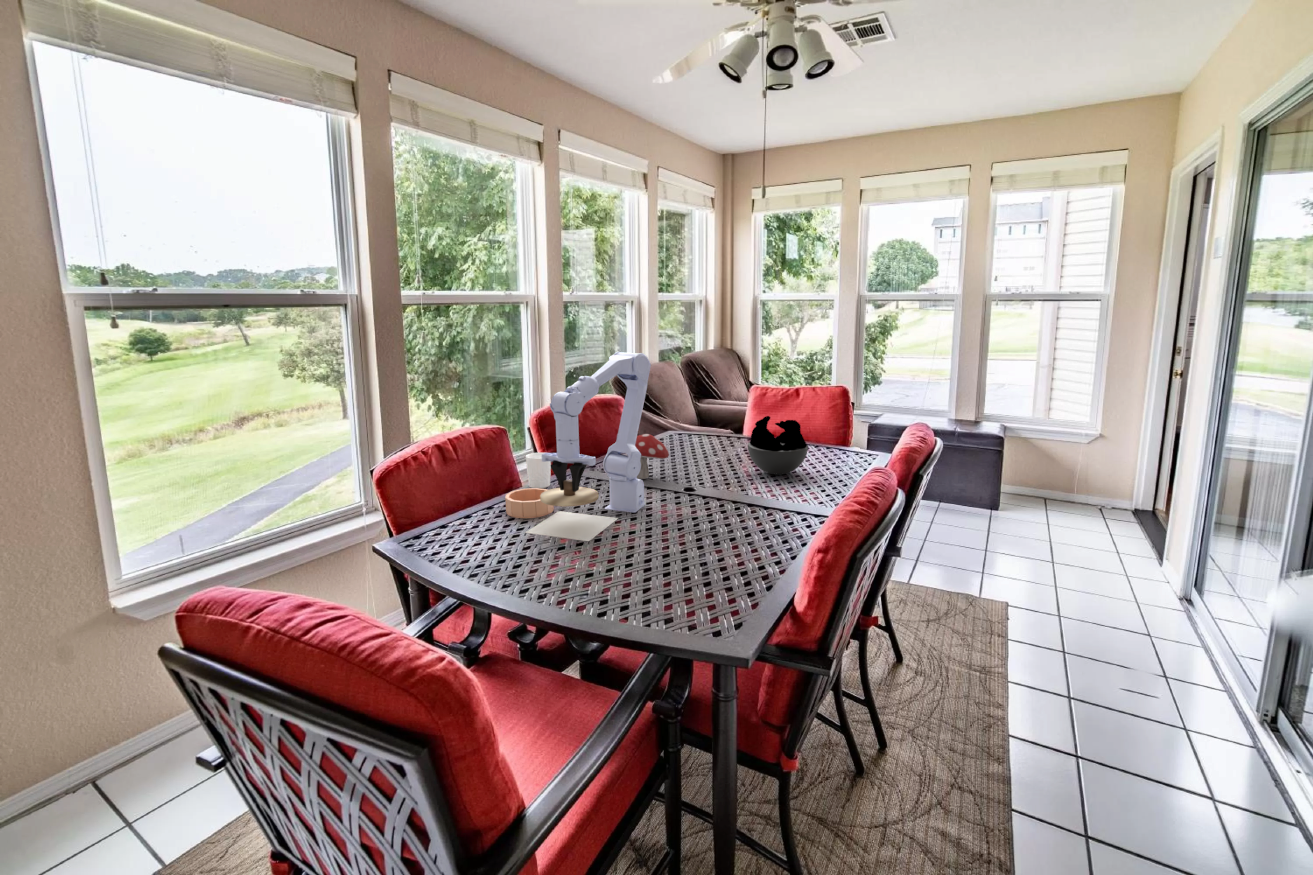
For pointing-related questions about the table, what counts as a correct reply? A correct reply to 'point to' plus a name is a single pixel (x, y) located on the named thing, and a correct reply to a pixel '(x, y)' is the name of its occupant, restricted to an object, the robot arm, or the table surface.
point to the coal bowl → (777, 447)
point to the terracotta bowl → (527, 503)
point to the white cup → (538, 471)
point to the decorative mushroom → (649, 452)
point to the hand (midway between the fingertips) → (569, 490)
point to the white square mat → (572, 526)
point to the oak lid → (569, 496)
